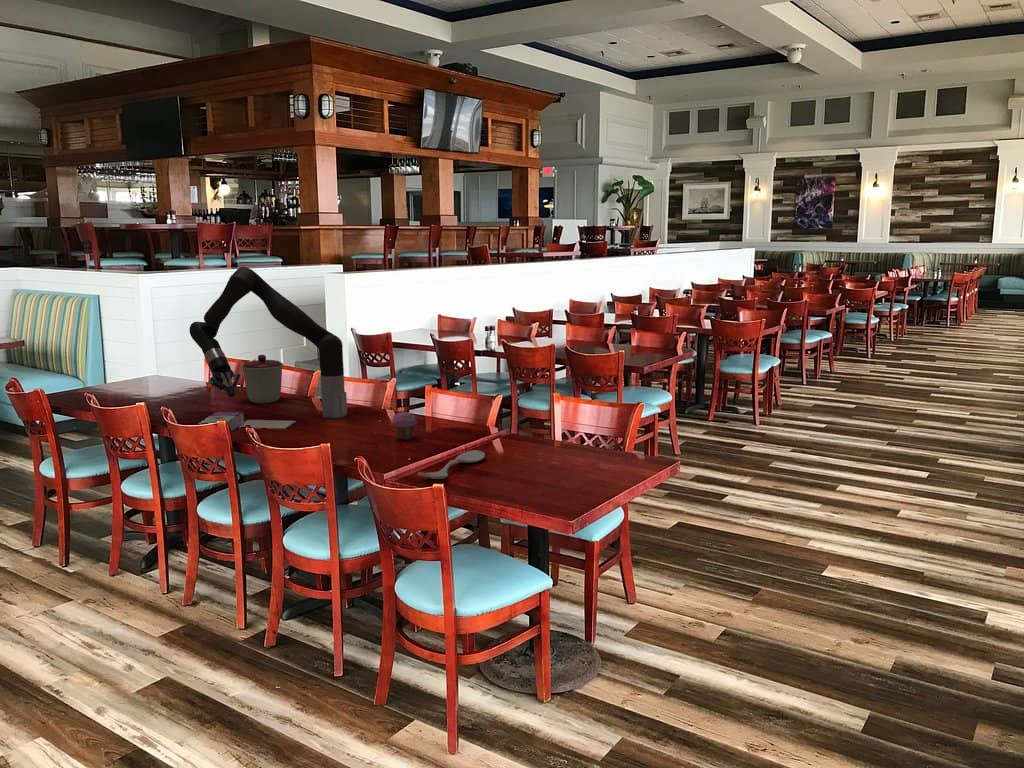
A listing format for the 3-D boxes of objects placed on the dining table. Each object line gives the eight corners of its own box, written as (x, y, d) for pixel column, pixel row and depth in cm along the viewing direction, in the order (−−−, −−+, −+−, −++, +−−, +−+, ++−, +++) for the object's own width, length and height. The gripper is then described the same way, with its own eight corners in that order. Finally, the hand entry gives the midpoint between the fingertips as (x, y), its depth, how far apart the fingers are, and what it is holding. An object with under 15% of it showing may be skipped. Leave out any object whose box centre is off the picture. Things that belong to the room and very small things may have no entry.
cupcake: (410, 442, 295) (409, 415, 293) (388, 440, 298) (387, 413, 296) (421, 436, 303) (420, 410, 301) (400, 434, 306) (399, 408, 304)
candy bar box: (218, 422, 325) (198, 435, 309) (216, 410, 323) (196, 422, 308) (245, 423, 323) (226, 435, 308) (243, 411, 322) (225, 423, 306)
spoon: (416, 482, 249) (416, 471, 248) (466, 456, 277) (466, 446, 277) (442, 486, 245) (442, 475, 245) (490, 459, 274) (490, 449, 273)
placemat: (296, 421, 328) (296, 420, 328) (284, 429, 316) (284, 428, 316) (248, 420, 330) (248, 419, 330) (234, 427, 318) (234, 426, 318)
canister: (242, 406, 356) (238, 358, 352) (245, 398, 374) (241, 352, 370) (285, 404, 361) (282, 356, 357) (286, 396, 378) (283, 350, 374)
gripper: (230, 365, 336) (246, 399, 330) (198, 369, 327) (213, 404, 321) (235, 354, 331) (251, 388, 325) (203, 357, 323) (218, 392, 316)
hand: (232, 396), depth 323 cm, fingers closed
